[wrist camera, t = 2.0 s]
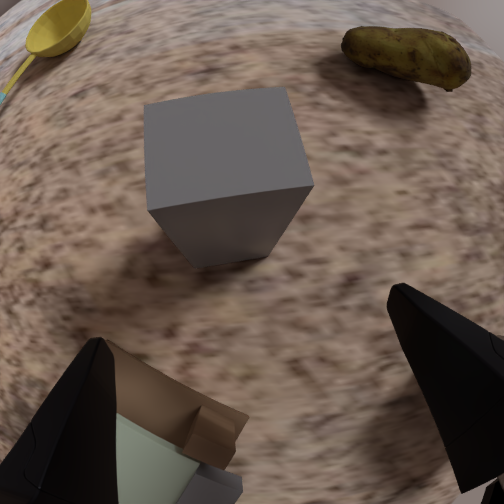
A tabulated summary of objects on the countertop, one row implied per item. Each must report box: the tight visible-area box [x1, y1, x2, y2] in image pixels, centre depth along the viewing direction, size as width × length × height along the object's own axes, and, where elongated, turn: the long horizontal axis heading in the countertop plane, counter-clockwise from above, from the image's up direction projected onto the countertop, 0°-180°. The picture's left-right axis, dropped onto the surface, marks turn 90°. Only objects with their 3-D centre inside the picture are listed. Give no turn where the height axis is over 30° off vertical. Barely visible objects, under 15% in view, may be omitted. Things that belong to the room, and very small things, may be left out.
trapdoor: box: [116, 413, 243, 504], centre depth 13 cm, size 10×9×2 cm
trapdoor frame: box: [105, 340, 249, 471], centre depth 14 cm, size 15×11×6 cm
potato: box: [341, 26, 471, 92], centre depth 22 cm, size 8×13×8 cm, turn 60°
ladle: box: [0, 0, 91, 105], centre depth 22 cm, size 9×26×6 cm, turn 154°
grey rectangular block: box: [144, 87, 314, 269], centre depth 15 cm, size 4×5×12 cm
